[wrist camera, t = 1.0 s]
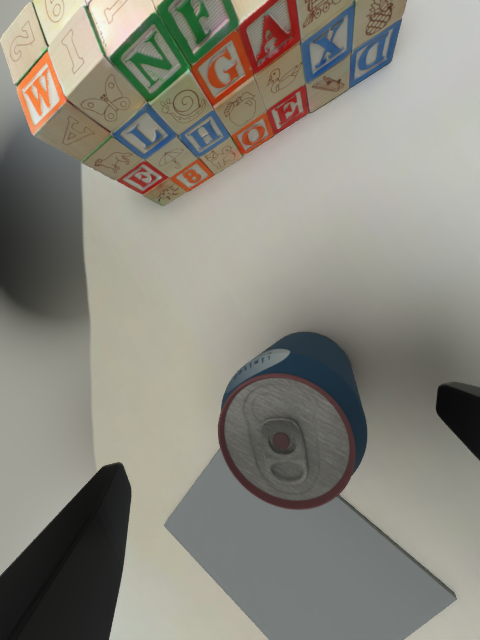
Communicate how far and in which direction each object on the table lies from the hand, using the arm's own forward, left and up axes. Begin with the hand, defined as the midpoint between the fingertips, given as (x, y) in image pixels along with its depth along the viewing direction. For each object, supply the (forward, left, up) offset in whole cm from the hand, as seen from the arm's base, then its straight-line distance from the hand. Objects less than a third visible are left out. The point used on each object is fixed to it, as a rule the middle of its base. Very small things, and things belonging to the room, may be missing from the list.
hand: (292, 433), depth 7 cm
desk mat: (-8, +17, -15) cm, 25 cm away
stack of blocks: (+16, -13, -16) cm, 26 cm away
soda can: (0, +2, -16) cm, 16 cm away
